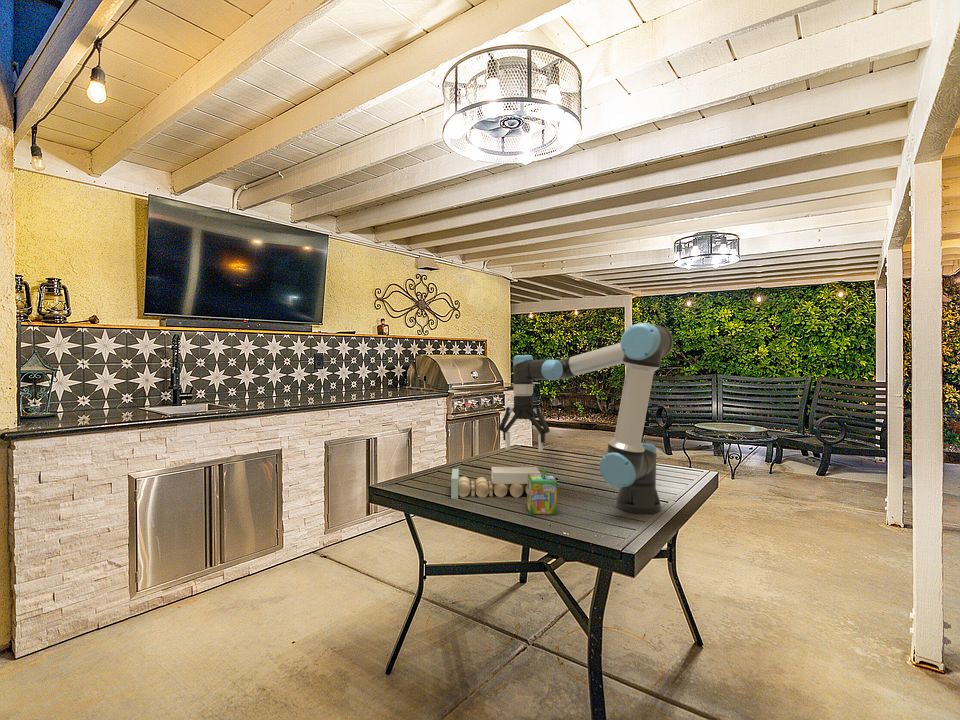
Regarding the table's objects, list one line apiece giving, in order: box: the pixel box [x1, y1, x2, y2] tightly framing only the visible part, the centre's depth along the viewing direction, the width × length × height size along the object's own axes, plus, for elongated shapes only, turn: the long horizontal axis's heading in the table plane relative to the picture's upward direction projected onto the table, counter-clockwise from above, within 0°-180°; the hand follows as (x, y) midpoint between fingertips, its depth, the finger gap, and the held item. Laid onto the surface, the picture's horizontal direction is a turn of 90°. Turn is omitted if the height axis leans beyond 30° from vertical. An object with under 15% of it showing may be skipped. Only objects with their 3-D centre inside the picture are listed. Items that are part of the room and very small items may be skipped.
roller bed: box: [458, 476, 528, 498], centre depth 189 cm, size 11×31×5 cm, turn 92°
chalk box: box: [526, 466, 558, 515], centre depth 169 cm, size 9×9×15 cm
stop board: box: [450, 468, 460, 500], centre depth 189 cm, size 16×2×8 cm, turn 2°
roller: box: [474, 476, 489, 498], centre depth 189 cm, size 11×5×5 cm, turn 2°
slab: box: [490, 466, 542, 485], centre depth 189 cm, size 10×18×4 cm, turn 92°
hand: (523, 450), depth 189 cm, fingers open, 13 cm apart
